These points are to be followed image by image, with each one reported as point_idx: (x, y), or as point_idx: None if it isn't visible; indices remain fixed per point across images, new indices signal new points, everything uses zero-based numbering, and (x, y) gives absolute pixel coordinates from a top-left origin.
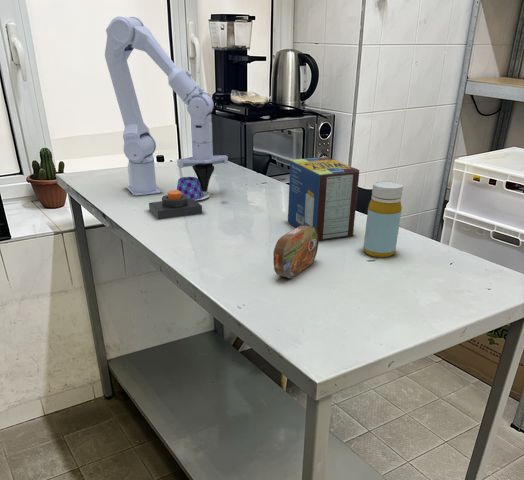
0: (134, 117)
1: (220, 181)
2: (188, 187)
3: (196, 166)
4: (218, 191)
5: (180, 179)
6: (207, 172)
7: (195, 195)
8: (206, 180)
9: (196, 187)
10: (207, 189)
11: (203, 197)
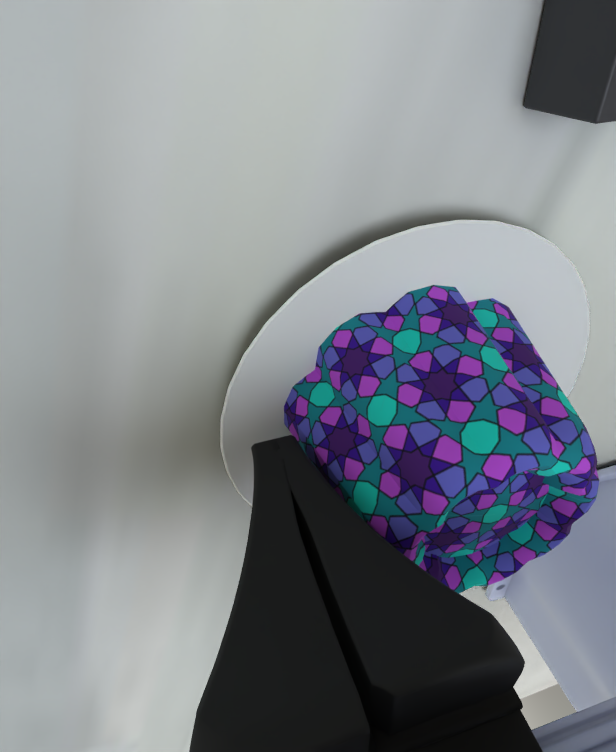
0: None
1: (63, 698)
2: (527, 392)
3: (511, 723)
4: (104, 529)
5: (580, 515)
6: (318, 637)
7: (417, 330)
8: (294, 530)
9: (431, 404)
10: (253, 457)
11: (306, 351)
